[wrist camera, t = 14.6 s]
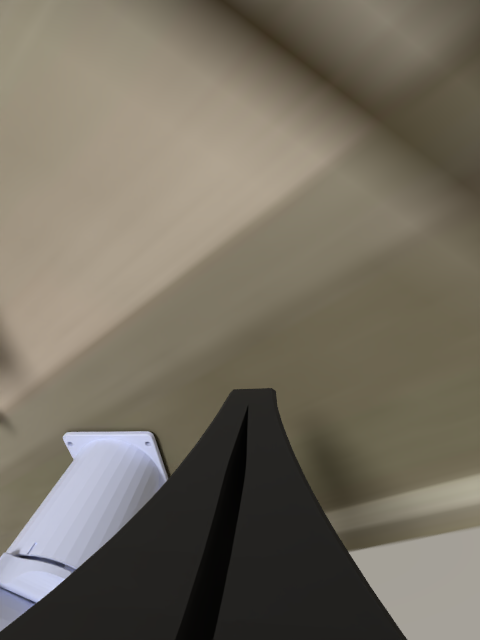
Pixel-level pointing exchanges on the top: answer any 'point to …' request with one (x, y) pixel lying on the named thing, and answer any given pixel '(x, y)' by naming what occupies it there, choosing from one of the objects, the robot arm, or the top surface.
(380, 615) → the robot arm
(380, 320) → the top surface
